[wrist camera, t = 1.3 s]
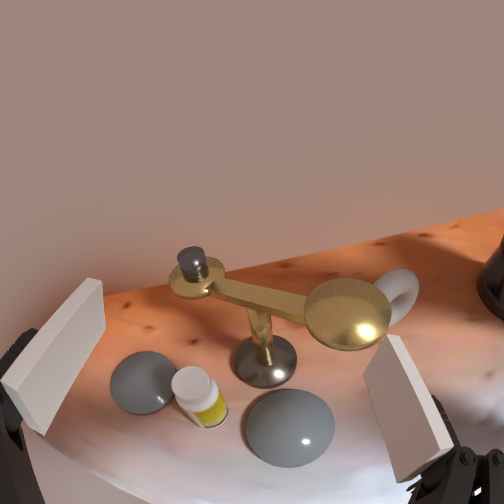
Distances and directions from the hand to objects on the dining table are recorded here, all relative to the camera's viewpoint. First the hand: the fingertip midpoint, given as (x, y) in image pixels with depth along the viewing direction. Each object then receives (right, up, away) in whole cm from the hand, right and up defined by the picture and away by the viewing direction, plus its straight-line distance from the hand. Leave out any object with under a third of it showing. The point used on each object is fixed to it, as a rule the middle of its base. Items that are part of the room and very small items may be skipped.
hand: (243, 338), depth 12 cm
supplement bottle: (-5, -16, +19) cm, 25 cm away
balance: (+2, -11, +24) cm, 26 cm away
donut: (+19, -7, +26) cm, 33 cm away
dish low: (-14, -14, +22) cm, 30 cm away
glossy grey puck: (+5, -16, +16) cm, 23 cm away
